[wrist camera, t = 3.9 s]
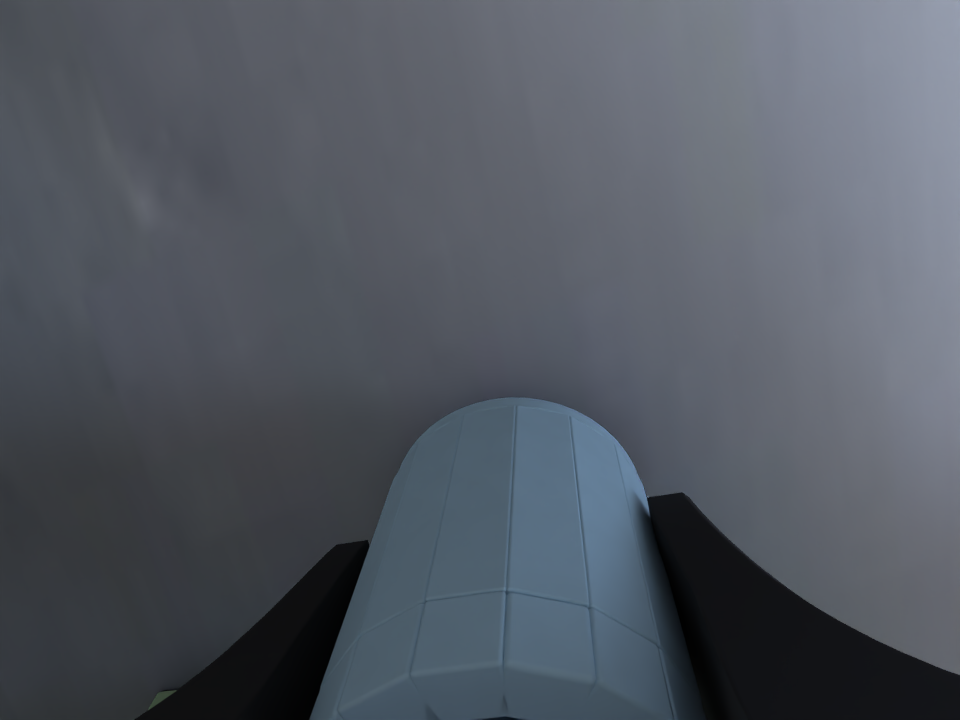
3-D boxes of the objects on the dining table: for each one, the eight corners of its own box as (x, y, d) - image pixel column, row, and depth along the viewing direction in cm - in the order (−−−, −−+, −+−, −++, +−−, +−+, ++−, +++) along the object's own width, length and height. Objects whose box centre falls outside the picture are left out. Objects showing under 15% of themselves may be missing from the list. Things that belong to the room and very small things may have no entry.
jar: (623, 374, 14) (703, 637, 7) (659, 595, 16) (751, 969, 9) (364, 420, 15) (227, 696, 8) (426, 626, 16) (354, 993, 10)
